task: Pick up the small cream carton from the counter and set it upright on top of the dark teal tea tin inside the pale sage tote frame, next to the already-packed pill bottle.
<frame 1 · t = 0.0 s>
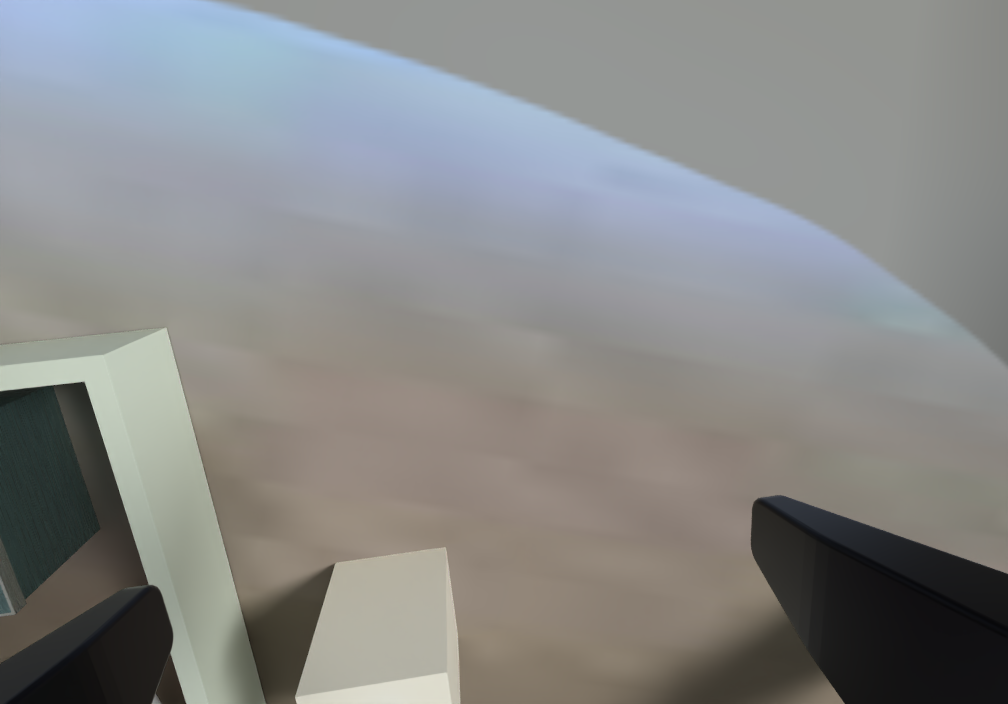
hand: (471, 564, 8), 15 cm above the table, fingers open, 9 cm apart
tote: (42, 605, 23), on the table
carton: (398, 600, 25), on the table
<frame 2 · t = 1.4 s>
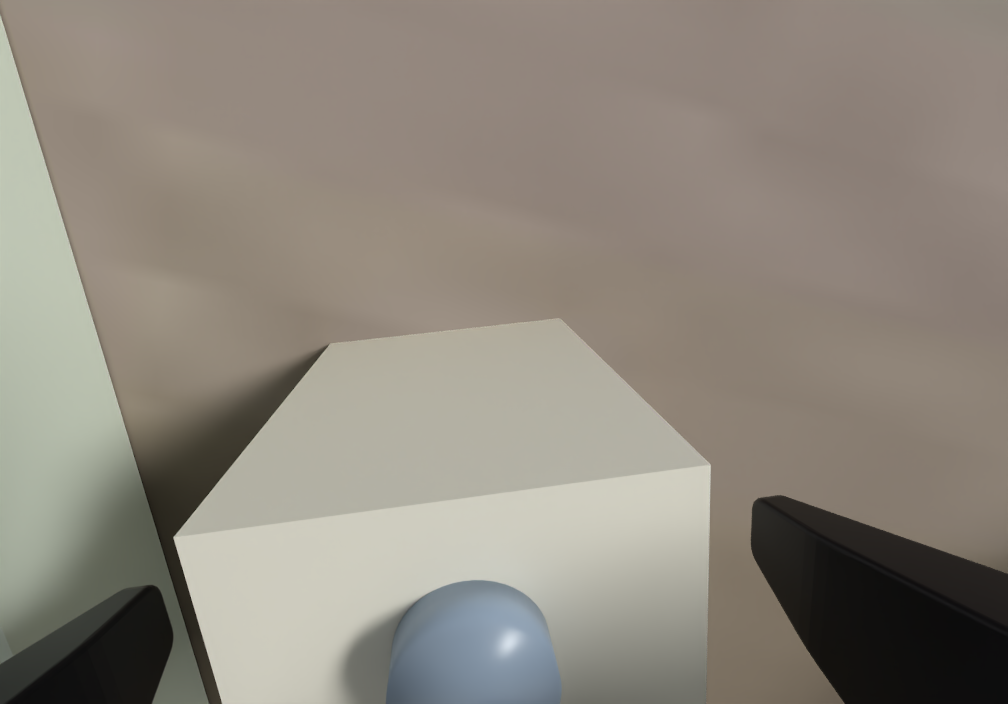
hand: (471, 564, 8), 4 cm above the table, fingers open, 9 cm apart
carton: (459, 435, 12), on the table
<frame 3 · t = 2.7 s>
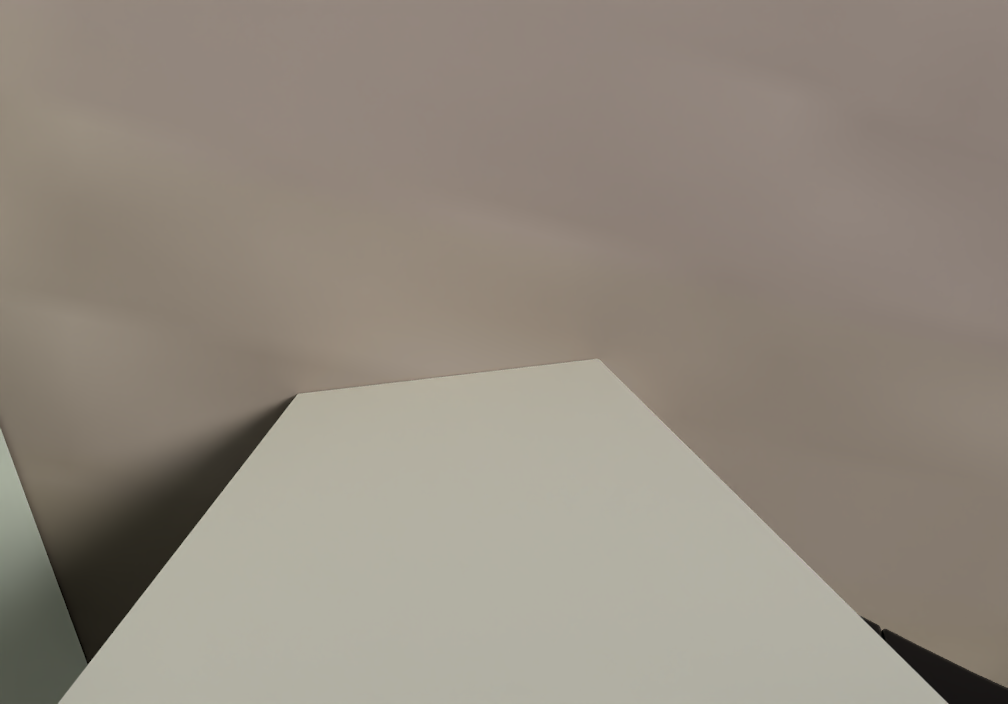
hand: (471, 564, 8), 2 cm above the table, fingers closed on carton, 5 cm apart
carton: (467, 508, 10), on the table, touching gripper
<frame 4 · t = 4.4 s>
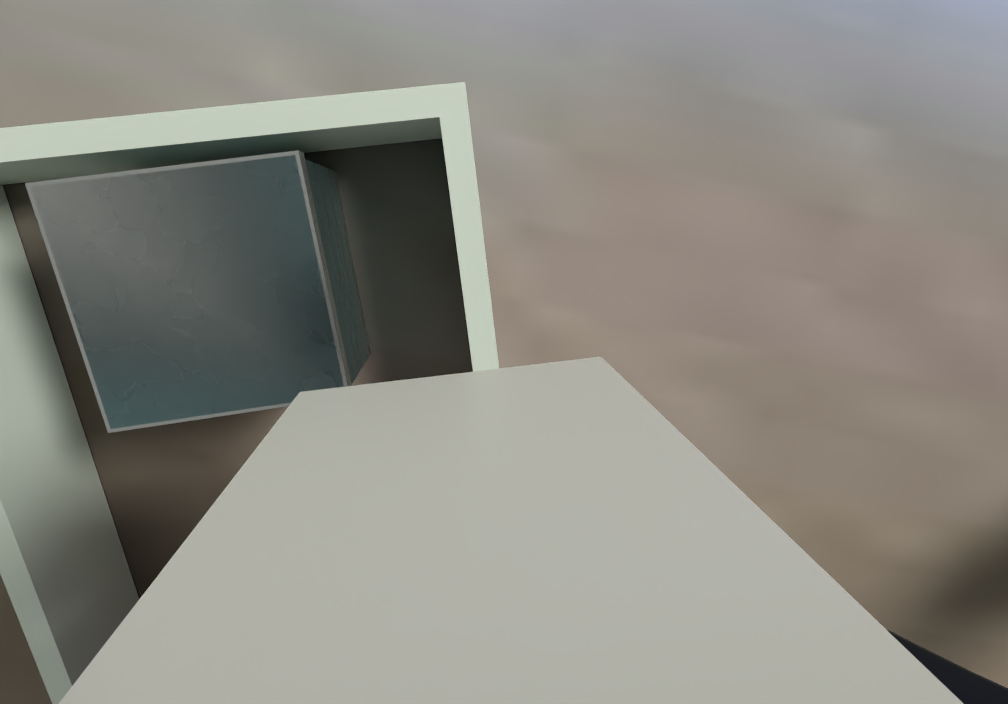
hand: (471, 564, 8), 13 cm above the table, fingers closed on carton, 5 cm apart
tote: (294, 453, 21), on the table
tin: (262, 278, 19), resting in tote
carton: (469, 506, 10), point 11 cm above the table, touching gripper
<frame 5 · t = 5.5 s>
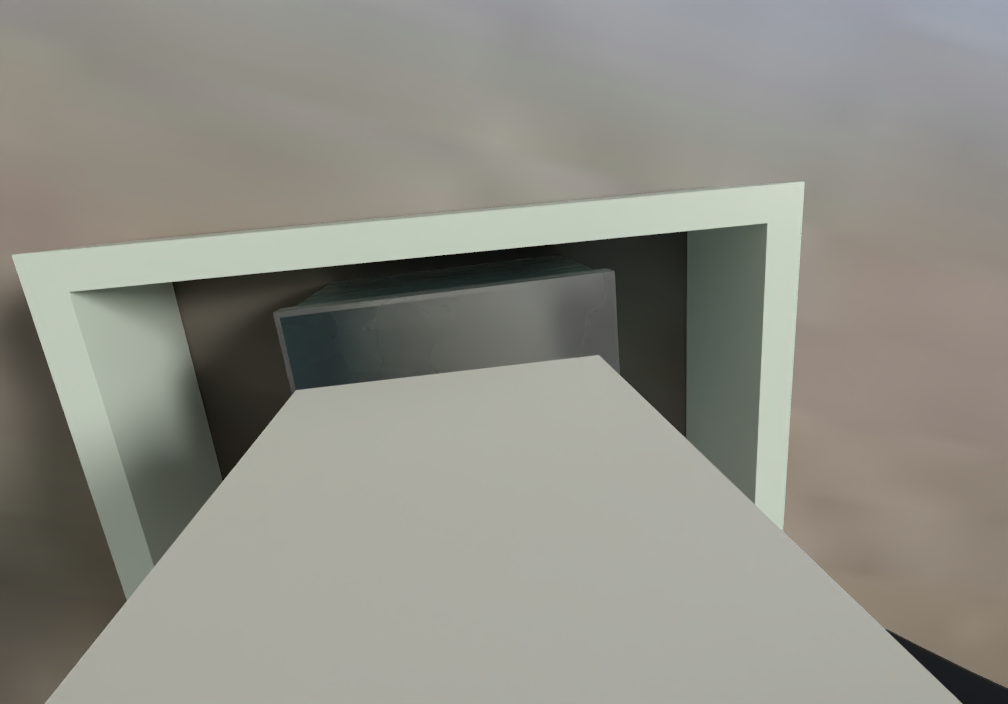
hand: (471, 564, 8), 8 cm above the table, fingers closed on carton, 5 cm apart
tote: (477, 569, 18), on the table
tin: (461, 375, 16), resting in tote
carton: (466, 505, 10), point 7 cm above the table, touching gripper
when the fingers open (8 cm above the table, at t = 6.3 s): carton drops 2 cm, resting on tin.
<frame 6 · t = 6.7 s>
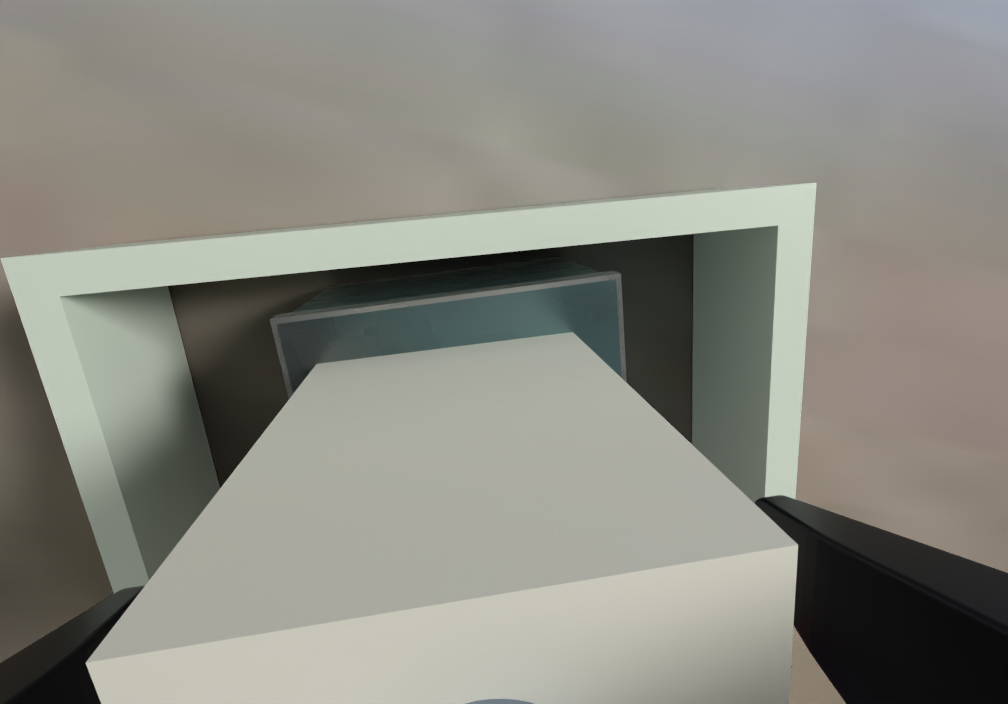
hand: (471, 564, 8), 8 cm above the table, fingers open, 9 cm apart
tote: (478, 577, 18), on the table
tin: (463, 379, 16), resting in tote, touching carton
carton: (462, 463, 11), point 5 cm above the table, touching tin
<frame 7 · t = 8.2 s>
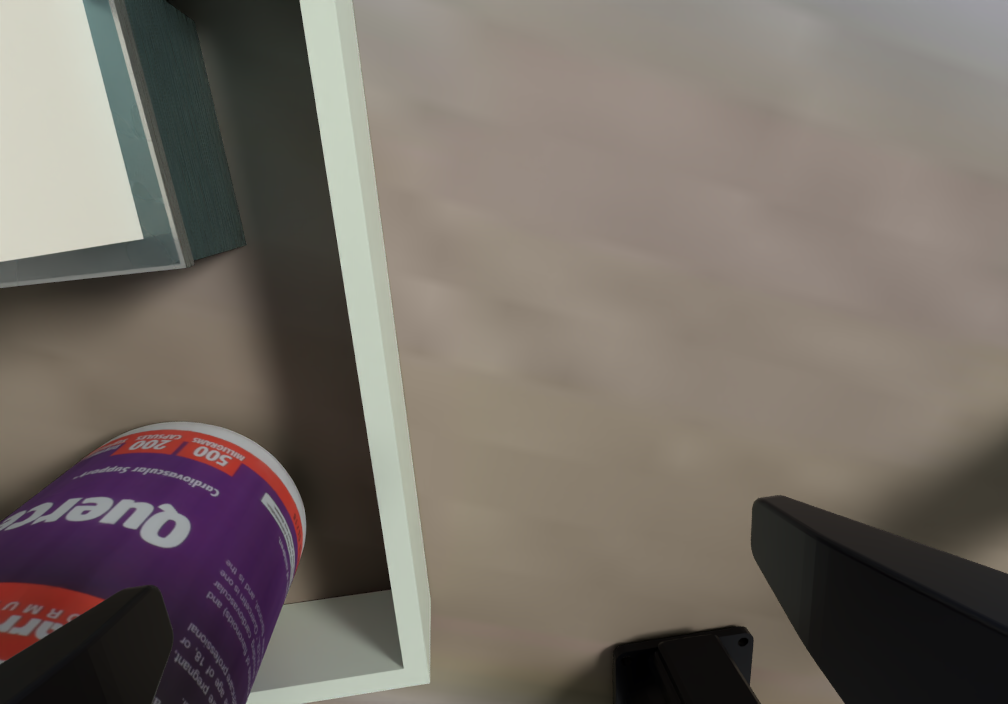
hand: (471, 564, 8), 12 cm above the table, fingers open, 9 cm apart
pill bottle: (202, 507, 20), resting in tote
tote: (159, 358, 18), on the table
tin: (114, 149, 17), resting in tote
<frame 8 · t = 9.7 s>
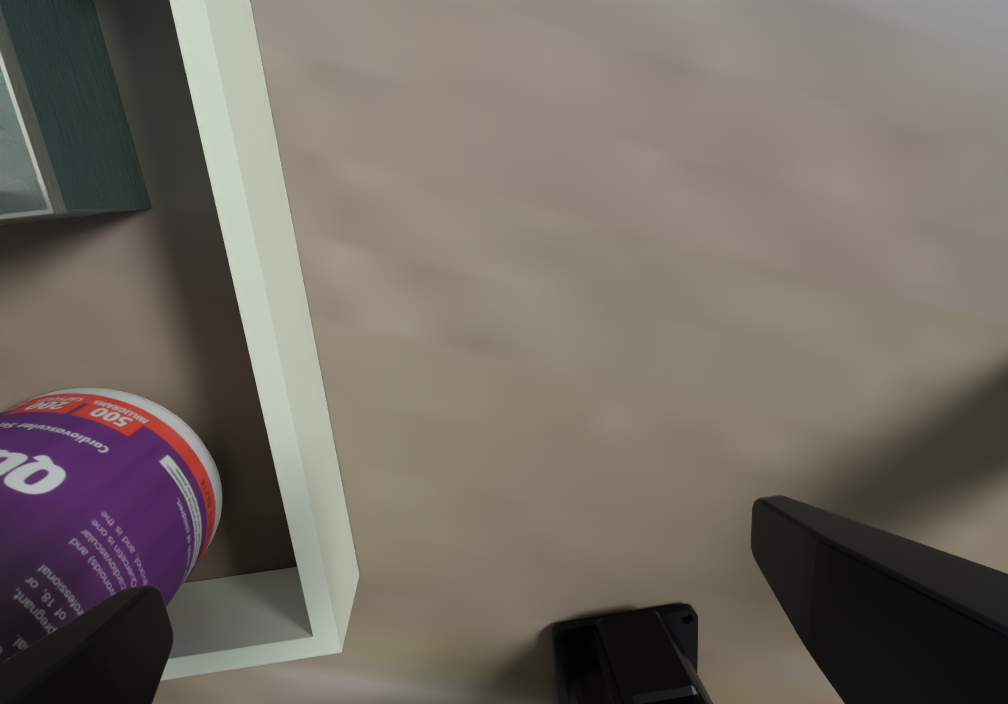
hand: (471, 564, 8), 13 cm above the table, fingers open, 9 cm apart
pill bottle: (121, 478, 20), resting in tote
tote: (68, 324, 18), on the table
tin: (16, 113, 17), resting in tote, touching carton
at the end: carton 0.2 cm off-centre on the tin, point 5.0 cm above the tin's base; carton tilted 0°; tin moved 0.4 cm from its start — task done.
